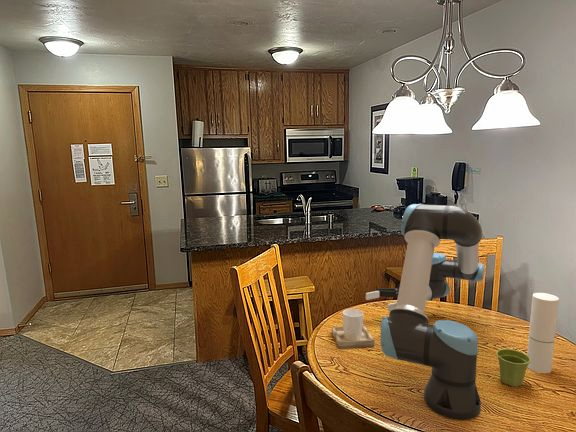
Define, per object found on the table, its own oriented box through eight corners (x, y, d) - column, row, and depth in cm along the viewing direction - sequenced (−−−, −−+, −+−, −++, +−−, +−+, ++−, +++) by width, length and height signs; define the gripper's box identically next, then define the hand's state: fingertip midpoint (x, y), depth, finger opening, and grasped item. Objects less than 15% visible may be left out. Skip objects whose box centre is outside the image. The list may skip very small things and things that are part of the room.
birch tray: (374, 346, 148) (374, 340, 148) (339, 348, 147) (339, 342, 147) (363, 330, 161) (363, 325, 161) (331, 332, 160) (331, 326, 160)
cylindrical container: (553, 367, 133) (560, 296, 129) (548, 376, 127) (556, 302, 123) (529, 360, 137) (535, 291, 133) (523, 368, 132) (530, 297, 128)
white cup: (363, 342, 150) (363, 317, 148) (341, 341, 151) (342, 316, 149) (362, 333, 157) (363, 309, 156) (342, 331, 159) (343, 308, 157)
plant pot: (488, 373, 130) (490, 348, 129) (518, 373, 130) (520, 348, 128) (503, 390, 121) (505, 363, 119) (534, 390, 120) (537, 363, 119)
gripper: (440, 312, 155) (398, 322, 146) (396, 292, 178) (357, 300, 168) (441, 293, 154) (399, 303, 145) (397, 276, 176) (358, 283, 167)
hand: (376, 302), depth 157 cm, fingers open, 13 cm apart
